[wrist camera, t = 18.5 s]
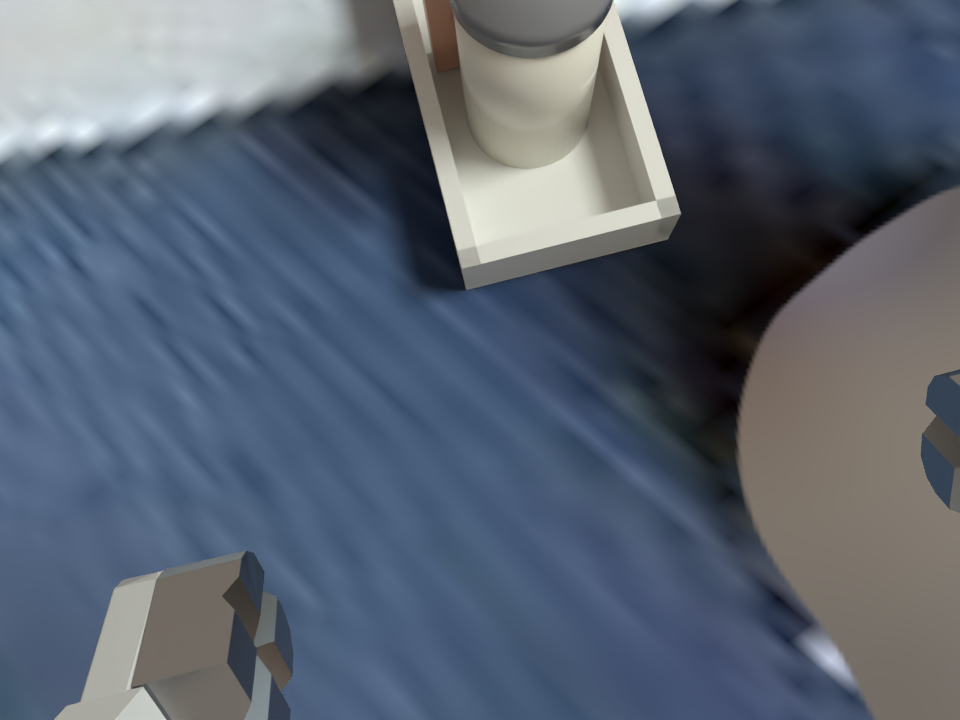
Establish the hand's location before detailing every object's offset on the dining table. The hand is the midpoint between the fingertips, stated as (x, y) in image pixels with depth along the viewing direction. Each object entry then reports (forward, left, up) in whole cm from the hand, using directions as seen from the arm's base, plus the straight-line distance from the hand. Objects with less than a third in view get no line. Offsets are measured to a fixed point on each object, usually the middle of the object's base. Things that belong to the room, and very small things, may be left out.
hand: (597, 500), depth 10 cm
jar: (+4, +18, -25) cm, 31 cm away
